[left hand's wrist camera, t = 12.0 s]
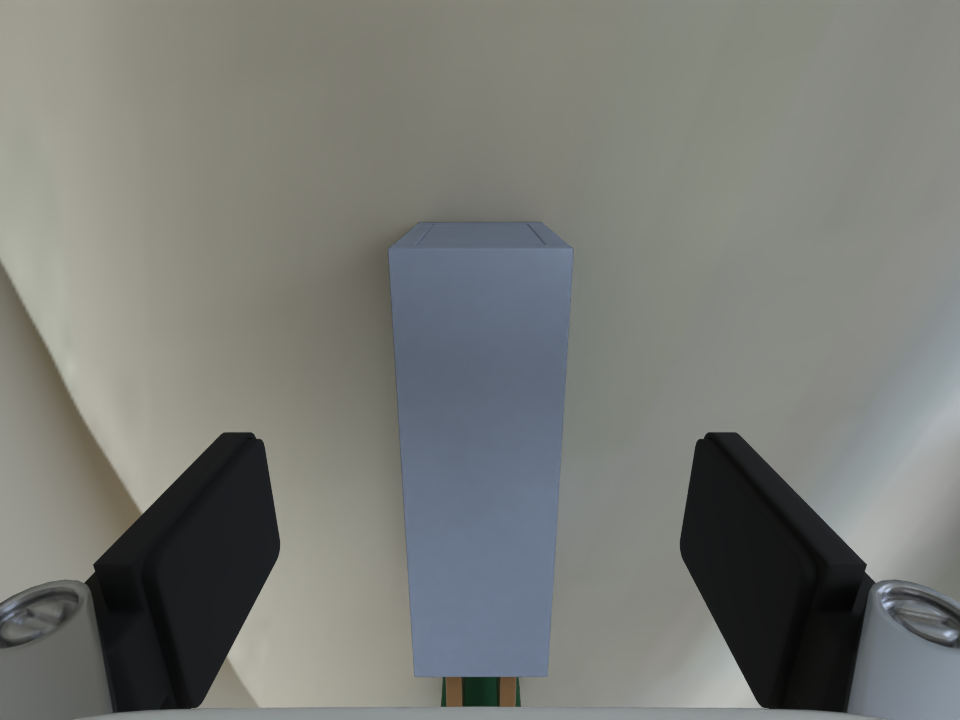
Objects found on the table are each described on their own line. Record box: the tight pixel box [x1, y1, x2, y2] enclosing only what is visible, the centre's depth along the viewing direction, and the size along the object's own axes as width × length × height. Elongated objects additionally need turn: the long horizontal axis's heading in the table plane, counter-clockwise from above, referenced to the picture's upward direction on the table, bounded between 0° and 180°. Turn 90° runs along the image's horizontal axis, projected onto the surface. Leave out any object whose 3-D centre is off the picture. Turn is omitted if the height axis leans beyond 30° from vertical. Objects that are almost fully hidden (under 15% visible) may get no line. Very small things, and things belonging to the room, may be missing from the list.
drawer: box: [441, 677, 521, 707], centre depth 29 cm, size 24×5×7 cm, turn 0°
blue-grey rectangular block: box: [388, 222, 573, 677], centre depth 25 cm, size 20×6×9 cm, turn 0°
